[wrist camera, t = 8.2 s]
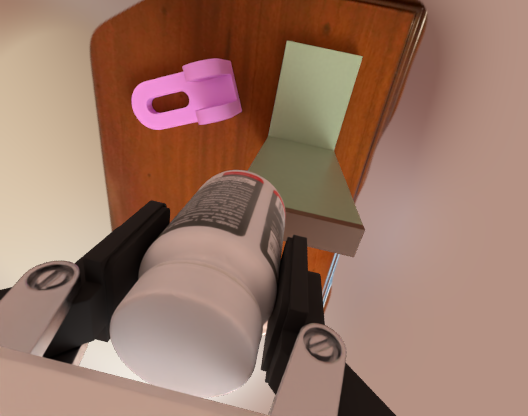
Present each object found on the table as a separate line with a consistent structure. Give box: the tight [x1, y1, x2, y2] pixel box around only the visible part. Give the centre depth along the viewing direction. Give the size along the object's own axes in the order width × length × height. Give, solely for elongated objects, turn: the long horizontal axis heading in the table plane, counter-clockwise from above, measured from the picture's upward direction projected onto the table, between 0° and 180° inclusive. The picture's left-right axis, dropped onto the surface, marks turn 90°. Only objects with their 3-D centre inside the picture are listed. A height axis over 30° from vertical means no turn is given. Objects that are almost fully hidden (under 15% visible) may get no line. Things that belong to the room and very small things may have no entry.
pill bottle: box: [110, 170, 285, 398], centre depth 11 cm, size 5×5×8 cm
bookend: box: [248, 40, 365, 257], centre depth 24 cm, size 12×8×21 cm, turn 169°
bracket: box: [132, 58, 242, 130], centre depth 31 cm, size 13×6×7 cm, turn 102°
